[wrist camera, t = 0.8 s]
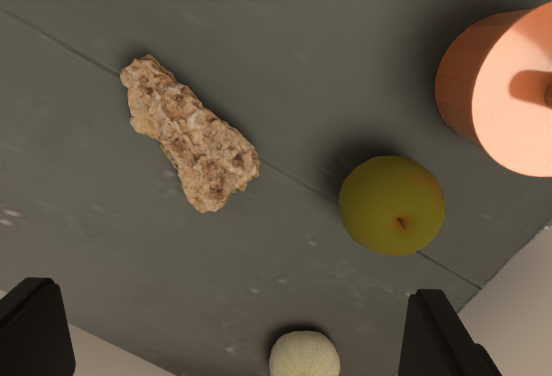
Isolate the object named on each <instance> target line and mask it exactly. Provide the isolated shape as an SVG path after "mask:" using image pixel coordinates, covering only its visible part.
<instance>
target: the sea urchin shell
mask: <svg viewBox="0 0 552 376" xmlns="http://www.w3.org/2000/svg"><path fill="white" fill-rule="evenodd" d="M270 355H271V356H270V359H269V366H270V374H271V375H270V376H338V374H339V371H340V362H339V357H338V354H337V352H336V350H335V347H334V345H333V343H331V341H330V340H329V339H328V338H327V337H326V336H325V335H323V334H321V333H319V332H314V331H308V330H307V331H294V332H291V333H288V334H284V335H283V336H282V337H280V338H279V339H278V340H277V342H276V344H275V345H274V347H273V348H272V351H271V354H270Z"/></svg>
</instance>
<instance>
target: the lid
mask: <svg viewBox="0 0 552 376" xmlns="http://www.w3.org/2000/svg"><path fill="white" fill-rule="evenodd" d="M469 117H470V123H471V127H472V130H473V133H474V135H475V138H476V140H477V142H478V143H479V145H480V146H481V148H482V149H483V150H484V152H485V153H486V154H487V155H488V156H489V157H490V158H491V159H493V160H494V161H495V162H496V163H498V164H500V165H501V166H503V167H505V168H507V169H508V170H511V171H513V172H516V173H518V174H523V175H527V176H534V177H552V1H549V2H546V3H544V4H542V5H539V6H537V7H535V8H533V9H531V10H530V11H528V12H526V13H525V14H523V15H521V16H520V17H519V18H517V19H516V20H515V21H513V22H512V23H511V24H510V25H509V26H507V27H506V28H505V29H504V30H503V31H502V32H501V33H500V34H499V35H498V37H497V38H496V39H495V40H494V41H493V42H492V44H491V45H490V46H489V48H488V49H487V51H486V52H485V54H484V55H483V57H482V59H481V61H480V63H479V65H478V67H477V69H476V72H475V75H474V77H473V81H472V85H471V88H470V95H469Z"/></svg>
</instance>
